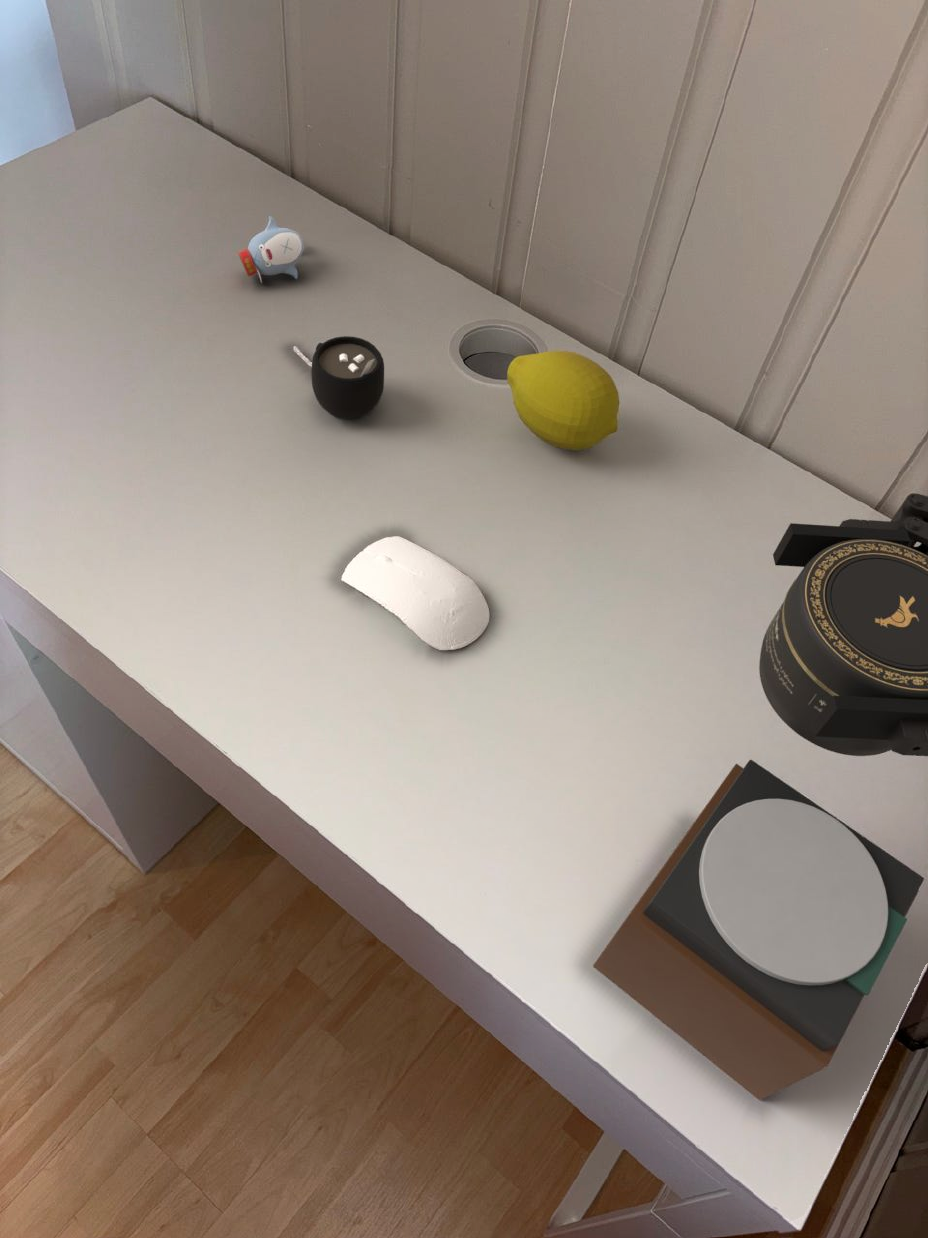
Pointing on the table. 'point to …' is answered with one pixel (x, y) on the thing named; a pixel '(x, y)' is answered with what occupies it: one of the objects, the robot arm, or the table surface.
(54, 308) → the table surface
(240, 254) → the figurine
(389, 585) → the computer mouse
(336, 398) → the mug
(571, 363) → the lemon
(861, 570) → the jar
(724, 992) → the scale
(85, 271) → the table surface
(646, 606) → the table surface
